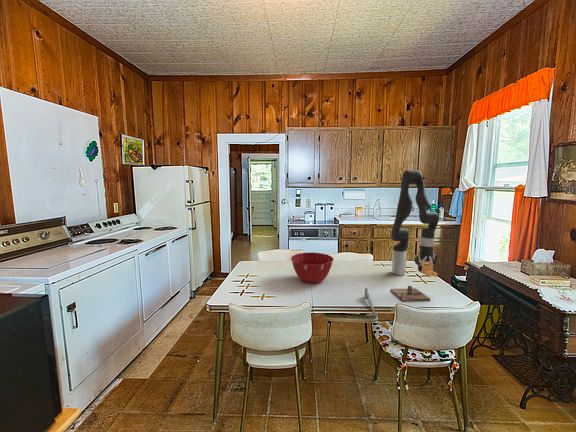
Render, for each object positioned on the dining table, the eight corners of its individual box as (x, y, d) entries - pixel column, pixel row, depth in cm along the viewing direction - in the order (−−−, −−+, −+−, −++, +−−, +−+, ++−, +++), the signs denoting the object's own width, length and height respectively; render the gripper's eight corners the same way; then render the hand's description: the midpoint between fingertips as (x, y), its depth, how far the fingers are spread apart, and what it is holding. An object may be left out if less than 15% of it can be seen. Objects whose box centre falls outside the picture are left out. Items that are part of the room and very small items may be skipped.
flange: (417, 270, 186) (418, 262, 185) (426, 270, 187) (427, 262, 186) (428, 277, 174) (429, 269, 174) (438, 277, 175) (438, 269, 174)
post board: (390, 290, 182) (391, 282, 181) (415, 290, 183) (416, 281, 182) (402, 301, 166) (403, 292, 165) (430, 300, 167) (430, 291, 166)
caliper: (364, 297, 172) (364, 286, 172) (366, 297, 172) (366, 286, 171) (372, 312, 152) (373, 301, 151) (374, 313, 152) (375, 301, 151)
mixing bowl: (331, 289, 184) (332, 265, 182) (286, 285, 190) (287, 262, 188) (334, 274, 211) (334, 253, 210) (294, 272, 217) (294, 251, 215)
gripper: (434, 243, 185) (432, 268, 188) (412, 243, 184) (410, 269, 186) (442, 246, 178) (439, 272, 180) (419, 246, 176) (416, 273, 179)
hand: (424, 271), depth 183 cm, fingers closed on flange, 6 cm apart
